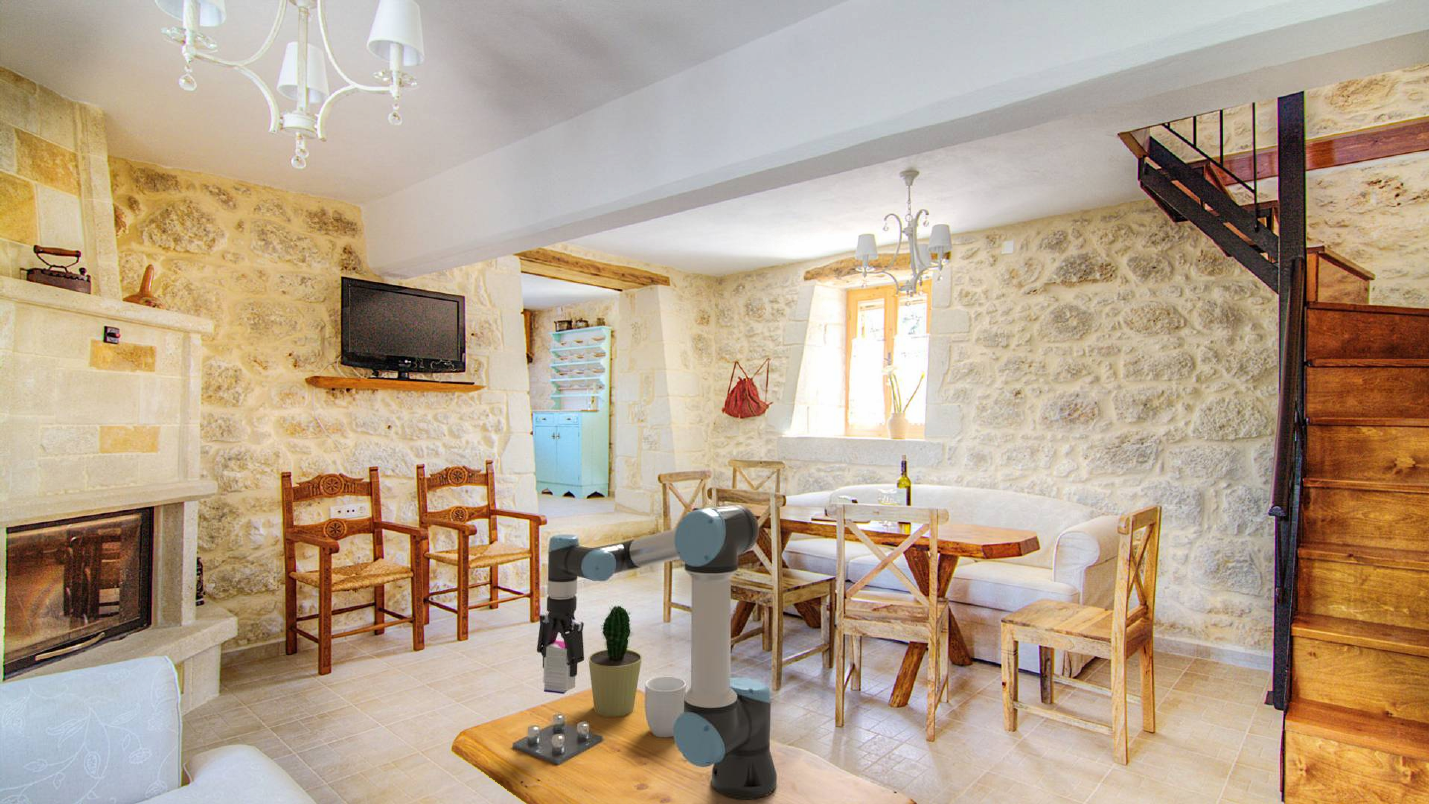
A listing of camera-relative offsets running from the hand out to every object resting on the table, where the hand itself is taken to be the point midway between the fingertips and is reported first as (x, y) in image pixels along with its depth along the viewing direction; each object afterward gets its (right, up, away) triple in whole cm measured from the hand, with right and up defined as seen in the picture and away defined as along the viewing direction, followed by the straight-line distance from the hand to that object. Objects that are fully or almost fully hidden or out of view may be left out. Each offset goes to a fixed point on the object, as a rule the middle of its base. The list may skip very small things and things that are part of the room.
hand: (559, 684), depth 181 cm
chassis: (0, -15, -1) cm, 15 cm away
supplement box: (0, -1, 0) cm, 1 cm away
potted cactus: (+11, -16, +22) cm, 29 cm away
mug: (+28, -16, +8) cm, 33 cm away
